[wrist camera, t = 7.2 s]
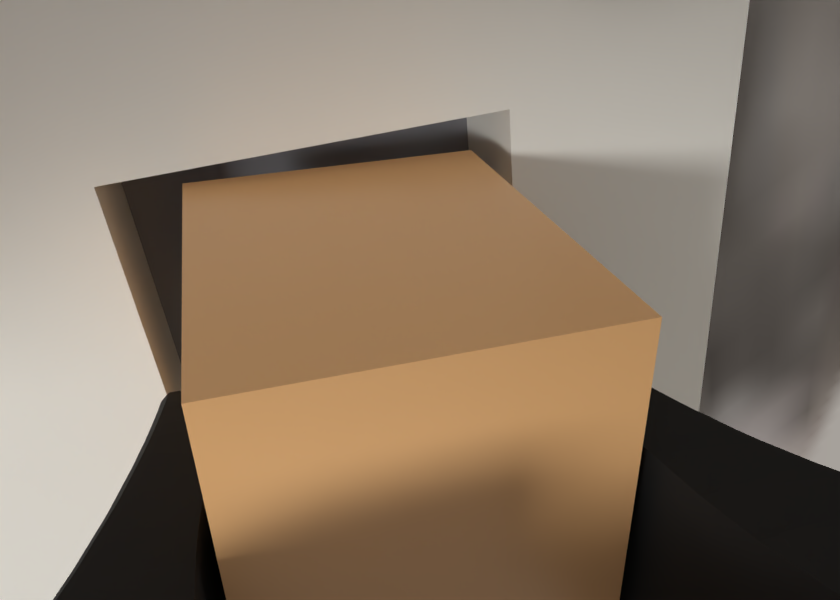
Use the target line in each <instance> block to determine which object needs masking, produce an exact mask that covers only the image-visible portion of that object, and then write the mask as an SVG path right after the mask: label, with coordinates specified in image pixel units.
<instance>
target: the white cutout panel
mask: <svg viewBox="0 0 840 600" xmlns="http://www.w3.org/2000/svg"><path fill="white" fill-rule="evenodd" d="M749 2H750V0H0V600H53V599H54V597H55V596H56V594H57V593H58V591H59V590H60V588H61V587H62V586H63V584H64V583H65V581H66V580H67V578H68V577H69V575H70V574H71V572H72V570H73V569H74V567H75V566H76V564H77V562H78V561H79V559H80V558H81V556H82V554H83V553H84V551H85V549H86V548H87V546H88V545H89V543H90V541H91V540H92V538H93V536H94V535H95V533H96V532H97V530H98V528H99V527H100V525H101V523H102V522H103V520H104V518H105V517H106V515H107V513H108V511H109V510H110V508H111V506H112V504H113V502H114V500H115V499H116V497H117V495H118V493H119V491H120V489H121V487H122V485H123V484H124V482H125V480H126V478H127V476H128V474H129V472H130V470H131V469H132V467H133V465H134V463H135V461H136V458H137V456H138V454H139V452H140V450H141V448H142V446H143V444H144V442H145V440H146V437H147V435H148V433H149V431H150V428H151V426H152V424H153V421H154V419H155V416H156V414H157V412H158V409H159V406H160V403H161V401H162V400H163V399H164V398H165V396H166V395H167V394H168V393H170V392H175V391H181V355H182V183H190V182H199V181H207V180H216V179H225V178H233V177H242V176H251V175H259V174H268V173H277V172H285V171H294V170H302V169H311V168H320V167H328V166H337V165H346V164H354V163H363V162H371V161H380V160H389V159H397V158H406V157H415V156H423V155H432V154H440V153H449V152H458V151H466V150H472V151H473V152H474V153H475V154H476V155H477V156H478V157H480V158H481V159H482V160H483V161H484V162H485V163H486V164H488V165H489V166H490V167H491V168H492V169H493V170H494V171H496V172H497V173H498V174H499V175H500V176H501V177H502V178H504V179H505V180H506V181H507V182H508V183H509V184H510V185H512V186H513V187H514V188H515V189H516V190H517V191H518V192H520V193H521V194H522V195H523V196H524V197H525V198H526V199H528V200H529V201H530V202H531V203H532V204H533V205H534V206H536V207H537V208H538V209H539V210H540V211H541V212H543V213H544V214H545V215H546V216H547V217H548V218H549V219H551V220H552V221H553V222H554V223H555V224H556V225H557V226H559V227H560V228H561V229H562V230H563V231H564V232H565V233H567V234H568V235H569V236H570V237H571V238H572V239H573V240H575V241H576V242H577V243H578V244H579V245H580V246H581V247H583V248H584V249H585V250H586V251H587V252H588V253H589V254H591V255H592V256H593V257H594V258H595V259H596V260H597V261H599V262H600V263H601V264H602V265H603V266H604V267H605V268H607V269H608V270H609V271H610V272H611V273H612V274H613V275H615V276H616V277H617V278H618V279H619V280H620V281H621V282H623V283H624V284H625V285H626V286H627V287H628V288H629V289H631V290H632V291H633V292H634V293H635V294H636V295H637V296H639V297H640V298H641V299H642V300H643V301H644V302H645V303H647V304H648V305H649V306H650V307H651V308H652V309H653V310H655V311H656V312H657V313H658V314H659V315H660V316H662V322H661V328H660V335H659V342H658V348H657V355H656V362H655V368H654V375H653V381H652V388H654V389H656V390H658V391H659V392H661V393H663V394H665V395H667V396H669V397H671V398H673V399H675V400H677V401H679V402H680V403H682V404H684V405H686V406H688V407H690V408H692V409H694V410H696V411H698V412H699V408H700V400H701V391H702V383H703V375H704V367H705V359H706V351H707V343H708V335H709V327H710V318H711V310H712V302H713V294H714V286H715V278H716V270H717V262H718V253H719V245H720V237H721V229H722V221H723V213H724V205H725V197H726V189H727V180H728V172H729V164H730V156H731V148H732V140H733V132H734V124H735V115H736V107H737V99H738V91H739V83H740V75H741V67H742V59H743V51H744V42H745V34H746V26H747V18H748V10H749Z"/></svg>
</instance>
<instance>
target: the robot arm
mask: <svg viewBox="0 0 840 600" xmlns="http://www.w3.org/2000/svg"><path fill="white" fill-rule="evenodd" d="M53 600H226V597H225V592H224V588H223V584H222V579H221V575H220V570H219V566H218V562H217V557H216V553H215V549H214V544H213V540H212V536H211V531H210V527H209V523H208V518H207V514H206V509H205V505H204V501H203V496H202V492H201V488H200V483H199V479H198V475H197V470H196V466H195V462H194V457H193V453H192V449H191V444H190V440H189V435H188V431H187V427H186V422H185V418H184V414H183V409H182V405H181V391H175V392H170V393H168V394H167V395H166V396H165V398H164V399H163V400H162V401H161V403H160V406H159V409H158V412H157V414H156V416H155V419H154V421H153V424H152V426H151V428H150V431H149V433H148V435H147V437H146V440H145V442H144V444H143V446H142V448H141V450H140V452H139V454H138V456H137V458H136V461H135V463H134V465H133V467H132V469H131V470H130V472H129V474H128V476H127V478H126V480H125V482H124V484H123V485H122V487H121V489H120V491H119V493H118V495H117V497H116V499H115V500H114V502H113V504H112V506H111V508H110V510H109V511H108V513H107V515H106V517H105V518H104V520H103V522H102V523H101V525H100V527H99V528H98V530H97V532H96V533H95V535H94V536H93V538H92V540H91V541H90V543H89V545H88V546H87V548H86V549H85V551H84V553H83V554H82V556H81V558H80V559H79V561H78V562H77V564H76V566H75V567H74V569H73V570H72V572H71V574H70V575H69V577H68V578H67V580H66V581H65V583H64V584H63V586H62V587H61V588H60V590H59V591H58V593H57V594H56V596H55V597H54V599H53ZM620 600H840V472H839V471H837V470H834V469H831V468H829V467H826V466H823V465H820V464H818V463H815V462H812V461H810V460H807V459H805V458H802V457H800V456H798V455H795V454H793V453H790V452H788V451H785V450H783V449H780V448H778V447H775V446H773V445H770V444H768V443H765V442H763V441H760V440H758V439H756V438H754V437H751V436H749V435H747V434H745V433H742V432H740V431H738V430H736V429H734V428H731V427H729V426H727V425H725V424H723V423H721V422H719V421H717V420H715V419H713V418H711V417H709V416H707V415H705V414H702V413H700V412H698V411H696V410H694V409H692V408H690V407H688V406H686V405H684V404H682V403H680V402H679V401H677V400H675V399H673V398H671V397H669V396H667V395H665V394H663V393H661V392H659V391H658V390H656V389H654V388H651V395H650V401H649V408H648V414H647V421H646V428H645V434H644V441H643V447H642V454H641V461H640V467H639V474H638V481H637V487H636V494H635V500H634V507H633V514H632V520H631V527H630V533H629V540H628V547H627V553H626V560H625V567H624V573H623V580H622V586H621V593H620Z"/></svg>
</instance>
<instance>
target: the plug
mask: <svg viewBox="0 0 840 600" xmlns="http://www.w3.org/2000/svg"><path fill="white" fill-rule="evenodd" d="M661 322H662V316H660V315H659V314H658V313H657V312H656V311H655V310H653V309H652V308H651V307H650V306H649V305H648V304H647V303H645V302H644V301H643V300H642V299H641V298H640V297H639V296H637V295H636V294H635V293H634V292H633V291H632V290H631V289H629V288H628V287H627V286H626V285H625V284H624V283H623V282H621V281H620V280H619V279H618V278H617V277H616V276H615V275H613V274H612V273H611V272H610V271H609V270H608V269H607V268H605V267H604V266H603V265H602V264H601V263H600V262H599V261H597V260H596V259H595V258H594V257H593V256H592V255H591V254H589V253H588V252H587V251H586V250H585V249H584V248H583V247H581V246H580V245H579V244H578V243H577V242H576V241H575V240H573V239H572V238H571V237H570V236H569V235H568V234H567V233H565V232H564V231H563V230H562V229H561V228H560V227H559V226H557V225H556V224H555V223H554V222H553V221H552V220H551V219H549V218H548V217H547V216H546V215H545V214H544V213H543V212H541V211H540V210H539V209H538V208H537V207H536V206H534V205H533V204H532V203H531V202H530V201H529V200H528V199H526V198H525V197H524V196H523V195H522V194H521V193H520V192H518V191H517V190H516V189H515V188H514V187H513V186H512V185H510V184H509V183H508V182H507V181H506V180H505V179H504V178H502V177H501V176H500V175H499V174H498V173H497V172H496V171H494V170H493V169H492V168H491V167H490V166H489V165H488V164H486V163H485V162H484V161H483V160H482V159H481V158H480V157H478V156H477V155H476V154H475V153H474V152H473V151H472V150H466V151H458V152H449V153H440V154H432V155H423V156H415V157H406V158H397V159H389V160H380V161H371V162H363V163H354V164H346V165H337V166H328V167H320V168H311V169H302V170H294V171H285V172H277V173H268V174H259V175H251V176H242V177H233V178H225V179H216V180H207V181H199V182H190V183H182V355H181V405H182V409H183V414H184V418H185V422H186V427H187V431H188V435H189V440H190V444H191V449H192V453H193V457H194V462H195V466H196V470H197V475H198V479H199V483H200V488H201V492H202V496H203V501H204V505H205V509H206V514H207V518H208V523H209V527H210V531H211V536H212V540H213V544H214V549H215V553H216V557H217V562H218V566H219V570H220V575H221V579H222V584H223V588H224V592H225V597H226V600H620V593H621V586H622V580H623V573H624V567H625V560H626V553H627V547H628V540H629V533H630V527H631V520H632V514H633V507H634V500H635V494H636V487H637V481H638V474H639V467H640V461H641V454H642V447H643V441H644V434H645V428H646V421H647V414H648V408H649V401H650V395H651V388H652V381H653V375H654V368H655V362H656V355H657V348H658V342H659V335H660V328H661Z"/></svg>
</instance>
